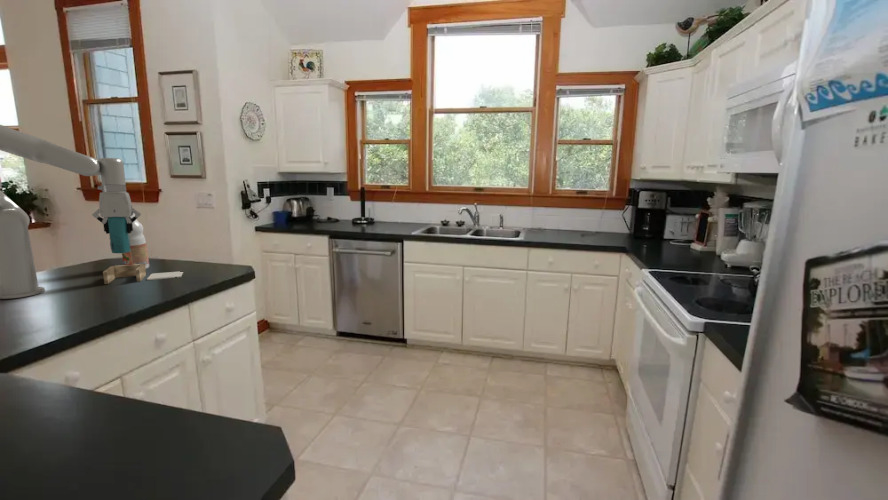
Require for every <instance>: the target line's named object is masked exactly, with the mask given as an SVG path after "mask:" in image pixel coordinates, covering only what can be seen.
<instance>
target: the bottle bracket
mask: <svg viewBox="0 0 888 500" xmlns="http://www.w3.org/2000/svg"><path fill="white" fill-rule="evenodd" d="M146 275H147V268H146V267H145V264H135V265H124V264H122V265H111V266H109V267H108V268H106V269H105V270H103V271H102V276H103V283H104V285H109V284H111V282H113V281H114V280H115V279H116V278H127V277H136V278H135V279H136V282H141V281H142V280H143V279H144V278H145V277H146Z"/></svg>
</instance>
